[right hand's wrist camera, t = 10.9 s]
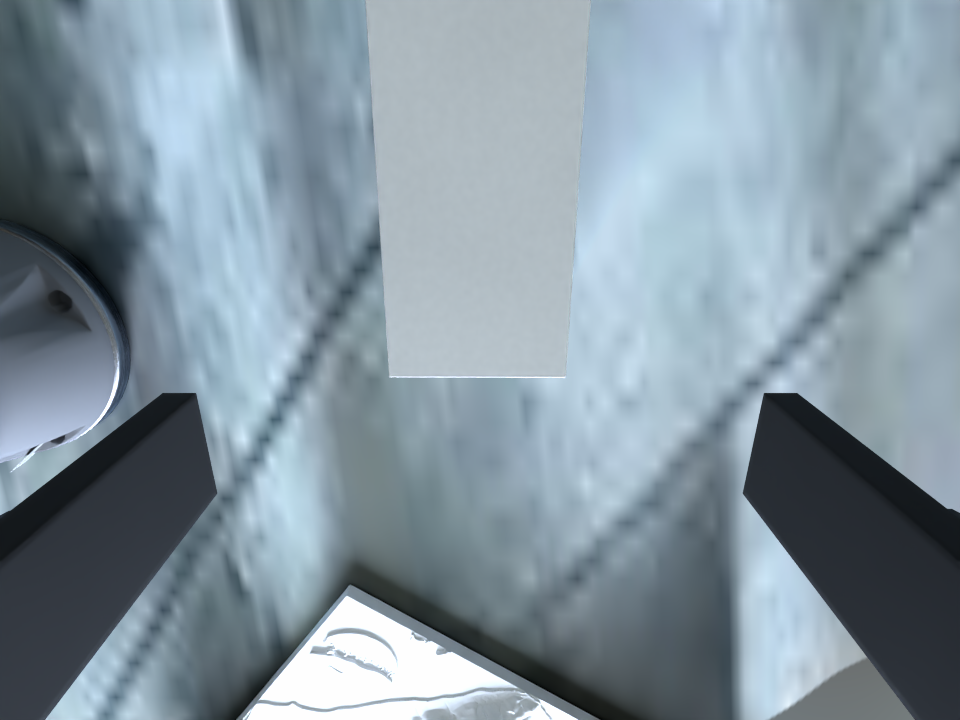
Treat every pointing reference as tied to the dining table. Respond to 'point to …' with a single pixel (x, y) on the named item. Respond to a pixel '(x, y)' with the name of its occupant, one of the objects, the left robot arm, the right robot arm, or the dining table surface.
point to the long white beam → (477, 180)
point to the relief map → (395, 674)
